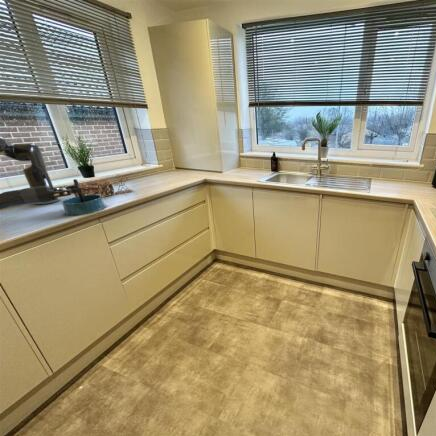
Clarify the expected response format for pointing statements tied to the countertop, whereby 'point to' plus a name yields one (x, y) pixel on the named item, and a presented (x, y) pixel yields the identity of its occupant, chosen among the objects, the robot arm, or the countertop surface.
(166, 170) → the countertop surface
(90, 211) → the bowl
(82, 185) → the bread
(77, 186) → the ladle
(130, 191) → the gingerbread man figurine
